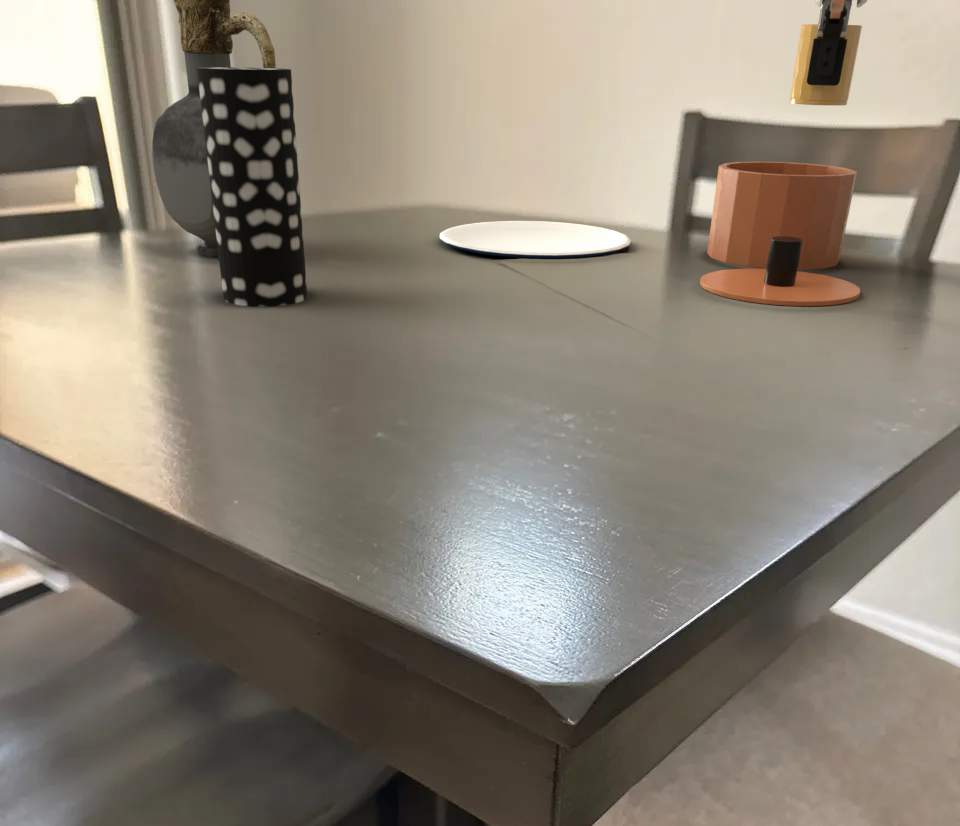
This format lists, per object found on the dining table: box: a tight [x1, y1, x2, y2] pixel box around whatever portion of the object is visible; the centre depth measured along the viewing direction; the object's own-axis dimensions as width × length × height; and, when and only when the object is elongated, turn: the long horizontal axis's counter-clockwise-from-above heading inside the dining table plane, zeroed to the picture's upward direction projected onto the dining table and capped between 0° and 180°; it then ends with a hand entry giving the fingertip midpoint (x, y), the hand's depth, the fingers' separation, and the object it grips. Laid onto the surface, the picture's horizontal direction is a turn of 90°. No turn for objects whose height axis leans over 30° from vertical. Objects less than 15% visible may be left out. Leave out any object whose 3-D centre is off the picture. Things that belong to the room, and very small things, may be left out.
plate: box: [439, 220, 632, 260], centre depth 127 cm, size 25×25×1 cm
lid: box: [699, 236, 861, 307], centre depth 103 cm, size 17×17×6 cm
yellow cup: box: [788, 23, 863, 106], centre depth 100 cm, size 6×6×7 cm
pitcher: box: [151, 0, 277, 259], centre depth 109 cm, size 11×19×30 cm, turn 49°
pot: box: [706, 161, 858, 271], centre depth 118 cm, size 16×16×10 cm
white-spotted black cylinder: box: [197, 66, 308, 308], centre depth 93 cm, size 8×8×20 cm
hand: (822, 82), depth 101 cm, fingers closed on yellow cup, 5 cm apart
